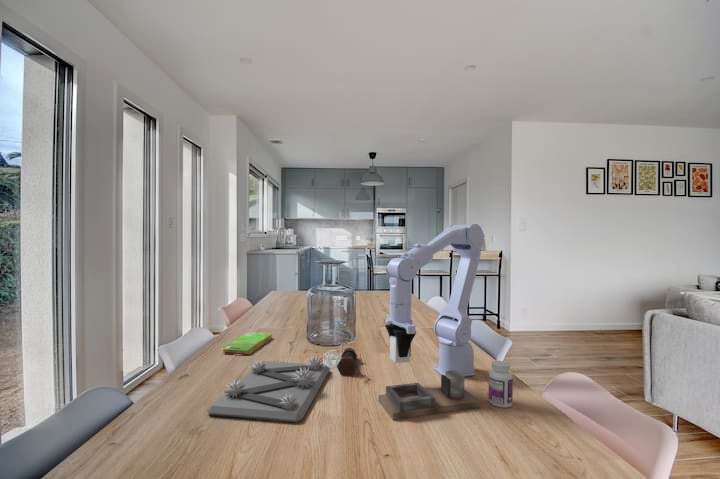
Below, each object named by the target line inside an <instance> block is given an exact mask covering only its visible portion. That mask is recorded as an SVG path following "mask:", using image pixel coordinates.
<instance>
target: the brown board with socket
mask: <svg viewBox="0 0 720 479" xmlns="http://www.w3.org/2000/svg"><path fill="white" fill-rule="evenodd" d="M440 375H441V374H440ZM465 377H466V376H465V375H464V373H462V372H459V371H453V370H451V371H447V372H446V373H445V375H441V376H440V378H441V379H440V386H439V387H434V388H433V387H432V388H425V387H424V386H422V384H420V383H419V382H413V383H405V384H403V383H402V384H396V385H395V384H394V385H388V386H387V385H386V386H385V393H384V394H379V395H378V403H379V404H380V406H383V407H382V408H383V409H384V410H385V412H386V414H388V416H389V417H390V418H391V420H392V421H396V420H401V419H402V420H403V419H411V418H416V417H423V416H429V415H435V414H437V415H438V414H443V413H450V412H456V411H463V410H470V409H471V410H472V409H477V408H481V400H479V398H477V397H475V396H474V395H473V394H472V393H470V392H469V391H467V390H466V389H465Z"/></svg>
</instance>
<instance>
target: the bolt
mask: <svg viewBox="0 0 720 479" xmlns="http://www.w3.org/2000/svg"><path fill="white" fill-rule="evenodd" d="M340 357H342V358H340V360H339V361H338V363H337V365H336V368H337V371H338V372H339V375H341V376H346V377H347V376H348V377H349V376H353V374H354V373H355V371H356V370H357V368H358V364H356V359H357V358H358V355H357V353H356V351H355V350H354V348H351V347H347V348H344V350H343V351H342V354H341V356H340Z"/></svg>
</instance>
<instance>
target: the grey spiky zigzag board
mask: <svg viewBox="0 0 720 479" xmlns="http://www.w3.org/2000/svg"><path fill="white" fill-rule="evenodd" d="M310 357H311V359H310V358H309V357H307V359H308V361H307V360H304V361H305V362H306V363H302V362H301V363H300V362H299V363H298V362H287V361H285V362H283V361H272V360H270V361H269V360H259V359H258V360H257V359H256V362H253V364H252V363H251V365H252V366H251V367H250V369H249V370H251V371H250V372H248V373H247V374H246V375H245V376H243V378H241V379H238V381H237V380H236V379H231V380H232V382H231V383H230V382H227V383H228V384H225V386H226V387H227V388H226V389H225V390H224V391H223V393H224V394H223V395H222V396H221V397H220V398H219V399H217V401H215V402H214V403H213V404H212V405H210V407H209V408H207V409H206V411H207V413H208V414H209V415H210V416H217V417H229V418H240V419H251V420H252V419H253V420H263V421H277V422H286V423H299V422H300V421H301V420H302V419H303V418H304V416H305V414H307V413H306V412H307V411H308V409H309V407H310V405H311V404H312V402H313V401H314V398H315V396H316V395H317V393H318V391H319V390H320V388H321V385H323V382H324V381H325V380H326V378H327V376H328V374H329V372H330V370H331V368H330V367H329V366H328V365H327V364H324V363H322V362H323V361H324V360H323V359H322V358H319V355H317V356H315V355H313V356H312V355H310Z"/></svg>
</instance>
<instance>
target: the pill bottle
mask: <svg viewBox="0 0 720 479" xmlns="http://www.w3.org/2000/svg"><path fill="white" fill-rule="evenodd" d="M510 367H511V366H510V363H509V362H507V361H504V360H493V361H492V362H491V369H490V370H489V372H488V403H490V404H491V405H492V406H494V407H498V408H503V409H507V408H510V407H512V406H513V399H514V398H513V397H514V396H513V388H514V387H513V384H514V382H513V381H514V380H513V378H514V377H513V373H511V372H510V369H511V368H510Z"/></svg>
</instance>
